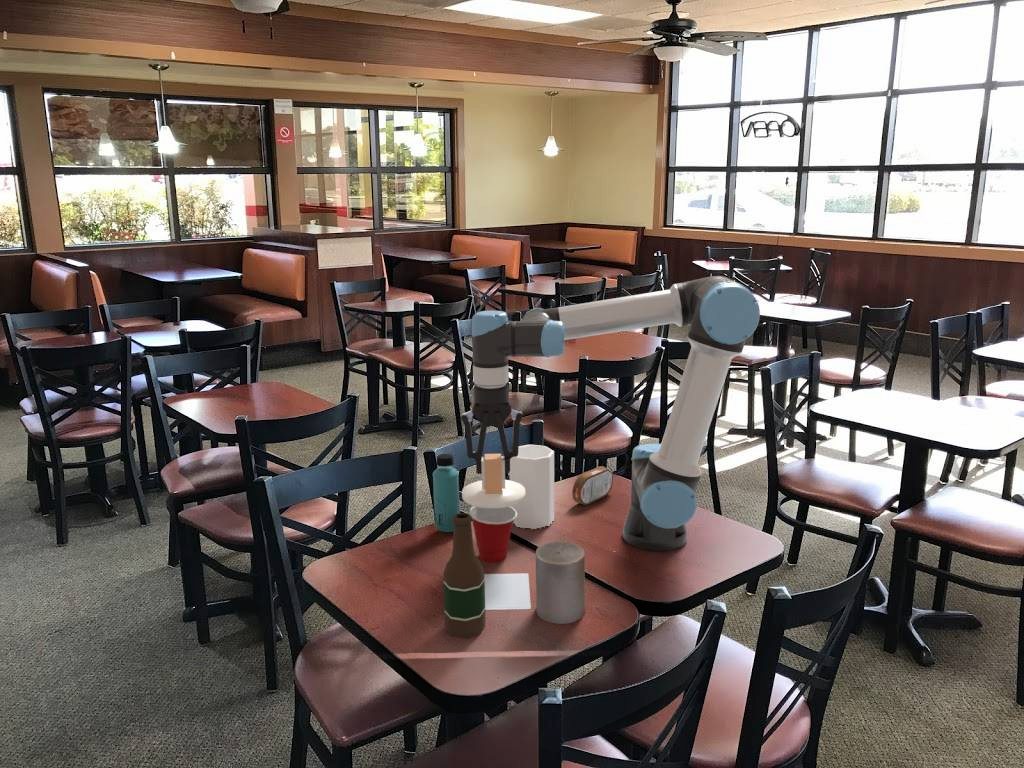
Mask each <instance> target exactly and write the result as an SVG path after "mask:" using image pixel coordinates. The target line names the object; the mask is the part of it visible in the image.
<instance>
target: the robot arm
mask: <svg viewBox="0 0 1024 768" xmlns="http://www.w3.org/2000/svg"><path fill="white" fill-rule="evenodd" d="M760 318H761V309H760V305H759V303H758V300H757V299H756V296H755V295H754V293H753V292H752V291H751V290H750V289H749V288H748V287H746V286H744V285H743V284H741V283H739V282H737V281H735V280H733V279H731V278H729V277H727V276H723V275H715V276H714V275H711V276H708V277H707V276H706V277H701V278H699V279H693V280H688V281H684V282H679V283H673V284H672V285H671V286H670V288H669V289H664V290H658V291H652V292H645V293H639V294H633V295H632V294H631V295H627V296H620V297H616V298H615V297H613V298H608V299H602V300H596V301H595V300H594V301H590V302H584V303H577V304H571V305H565V306H559V307H553V308H552V307H551V308H545V309H544V308H540V307H535V308H533V309H532V308H531V309H530V310H528V311H527V312H526V313H525V314H524V316H523V317H522V319H521V321H520V320H519V321H516V320H515V321H513V320H509V318H508V314H507V312H505V311H503V310H482V311H477V312H476V313H474V315H472V318H471V322H472V323H471V342H472V343H471V345H472V348H471V349H472V378H473V380H472V382H473V384H474V385H473V406H472V407H471V410H469V411H467V412H466V411H463V412H462V413H461V414H460V415H461V417H460V420H462V423H463V425H464V431H465V441H466V443H465V444H466V453H467V458H468V459H472V460H473V459H474V460H475V465H476V466H475V467H476V470H475V471H476V474H477V475H481V480H482V489H486V488H485V456H483V453H484V446H485V440H486V435H487V434H486V433H487V429H488V428H489V427H497V429H498V434H499V437H500V438H499V439H500V444H501V447H502V452H503V455H501V465H502V489H505V480H506V474H509V472H510V459H511V458H512V457H517V456H518V447H519V443H520V442H519V441H520V424H521V422H522V419H523V411H522V410H520V409H519V410H515V409H514V408H512V406H511V404H510V393H509V392H510V391H509V390H510V389H509V387H510V386H509V384H508V383H509V380H510V379H509V376H510V375H509V357H511V358H512V357H513V358H514V357H515V358H516V357H517V358H519V357H520V358H521V357H527V358H528V357H530V358H531V357H533V358H537V357H538V358H539V357H542V358H543V357H545V358H551V357H560V356H563V355H564V353H565V347H566V346H565V345H566V343H565V341H566V340H573V339H574V340H575V339H580V338H587V337H592V336H600V335H606V334H607V335H608V334H613V333H619V332H625V331H632V330H637V329H646V328H649V327H652V328H653V327H658V326H663V325H670V324H675V325H676V326H678V327H679V328H681V327H686V326H688V327H689V326H690V327H689V330H688V333H687V336H686V338H687V340H688V342H689V344H690V346H691V347H690V351H689V354H688V357H687V360H686V364H685V367H684V370H683V372H682V373H683V374H682V376H681V380H680V382H679V386H678V388H677V392H676V396H675V397H674V398H675V399H674V402H673V405H672V408H671V412H670V414H669V418H668V420H667V424H666V427H665V431H664V434H663V437H662V441H661V442H660V443H646V444H640V445H637V446H635V447H634V448H633V450H632V457H631V459H630V460H631V461H632V464H631V490H630V491H631V493H630V494H631V495H630V498H631V501H630V507H629V510H628V513H627V515H626V519H625V520H624V523H623V526H622V527H623V528H622V538H623V540H624V541H625V542H627V544H629V545H631V546H633V547H634V548H637V549H641V550H645V551H653V552H663V551H664V552H665V551H667V552H668V551H672V550H676V549H678V548H681V547H683V546H684V545H685V544H686V543H687V539H688V531H687V526H686V524H687V523H688V522H690V521H691V519H692V518H693V517H694V516H695V514H696V511H697V508H698V500H697V499H698V498H697V495H696V492H697V489H698V487H699V483H700V480H701V477H702V473H703V471H702V469H701V467H700V465H699V459H700V456H701V454H702V450H703V448H704V445H705V441H706V438H707V434H708V432H709V429H710V426H711V423H712V420H713V417H714V415H715V414H714V413H715V410H716V408H717V405H718V401H719V399H720V396H721V393H722V389H723V386H724V384H725V380H726V378H727V374H728V372H729V369H730V366H731V362H732V360H733V359H734V358H735V357H738V356H739V355H741V354H742V353H743V349H744V347H745V345H746V340H747V339H748V338H750V337H751V336H752V335H753V334H754V332H755V331H756V329H757V327H758V325H759V322H760ZM510 415H511V420H512V421H513V423H512V441H511V442H512V445H511V446H512V448H511V449H509V445H508V440H507V434H506V432H505V426H504V423H505V422H506V420H507V419H508V418H509V416H510ZM473 416H474V417H475V419H476V420H477V421H478V422H479V424H480V427H479V435H478V441H477V445H476V450H475V451H474V446H473V435H472V425H471V422H472V421H473Z"/></svg>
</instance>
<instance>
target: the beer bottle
mask: <svg viewBox="0 0 1024 768" xmlns="http://www.w3.org/2000/svg"><path fill="white" fill-rule="evenodd" d="M452 522H453V523H454V531H453V535H452V537H453V538H452V553H451V556H450V558H449V560H448V561H447V563H446V564H445V567H444V571H443V578H442V579H443V580H442V581H443V601H444V602H443V606H444V609H443V612H444V625H445V631H447V632H448V634H449V635H450V636H451V637H454V638H455V637H456V638H461V639H464V640H465V639H469V638H472V637H476V636H480V635H481V634H482V632H483V631H484V629H485V628H486V610H485V578H484V574H485V569H484V567H483V565H482V563H481V561H480V559H479V558H478V557H477V556H476V554H475V553H476V552H475V549H474V541H473V529H472V523H473V520H472V517H471V516H470V513H468V512H460V513H459V514H456V515H455V516H454V517H453V520H452Z"/></svg>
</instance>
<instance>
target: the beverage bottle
mask: <svg viewBox="0 0 1024 768" xmlns="http://www.w3.org/2000/svg"><path fill="white" fill-rule="evenodd" d="M454 463H455V462H454V455H453V454H450V453H441V454H438V455H437V456H436V463H435V465H436V466H438V467H437V468H436V469H435V470H434V471H433V472H432V478H433V479H432V480H433V482H432V483H433V484H432V485H433V491H432V492H433V506H434V509H433V511H434V517H433V518H434V520H433V522H434V526H435V529H436V530H437V531H440V532H444V533H445V532H446V533H449V532H454V523H453V522H452V520H453V517H454V516H455V515H456V514H459V513H461V504H460V491H459V490H460V489H459V488H460V486H459V484H460V483H459V474H460V472H459V471H458V469H456V468H455V467H453V465H454Z"/></svg>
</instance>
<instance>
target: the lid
mask: <svg viewBox="0 0 1024 768" xmlns="http://www.w3.org/2000/svg"><path fill="white" fill-rule="evenodd" d="M501 456H502V453H484V457H485V488H486V489H482V479H481V480H477V481H474V482H471V483H469V484H467V485H466V486H464V487H463V488H462V491H461V497H462V498H461V499H462V500H463V502H465V504H467V505H469V506H472V507H473V506H475V507H480V508H504V507H509V506H513V505H516V504H518V503H520V502H522V501H523V500H524V499H525V488H524V486H522V485H521V484H519V483H517V482H514V481H510V479H505V489H502V465H501Z"/></svg>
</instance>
